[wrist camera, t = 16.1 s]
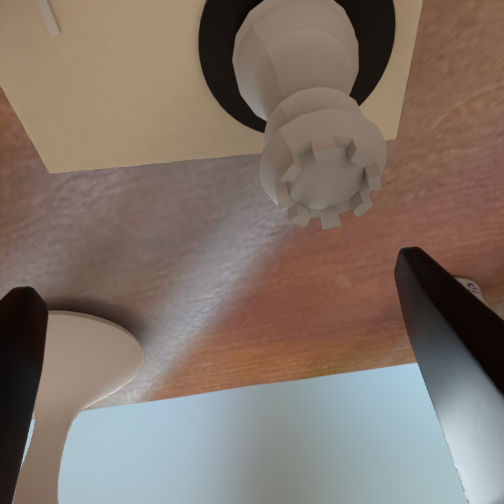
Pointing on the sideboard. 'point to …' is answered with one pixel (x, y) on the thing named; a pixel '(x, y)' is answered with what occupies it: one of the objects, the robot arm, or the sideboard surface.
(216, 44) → the disc
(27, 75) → the hob
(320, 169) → the rook chess piece
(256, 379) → the sideboard surface
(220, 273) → the sideboard surface
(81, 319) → the flower in vase
